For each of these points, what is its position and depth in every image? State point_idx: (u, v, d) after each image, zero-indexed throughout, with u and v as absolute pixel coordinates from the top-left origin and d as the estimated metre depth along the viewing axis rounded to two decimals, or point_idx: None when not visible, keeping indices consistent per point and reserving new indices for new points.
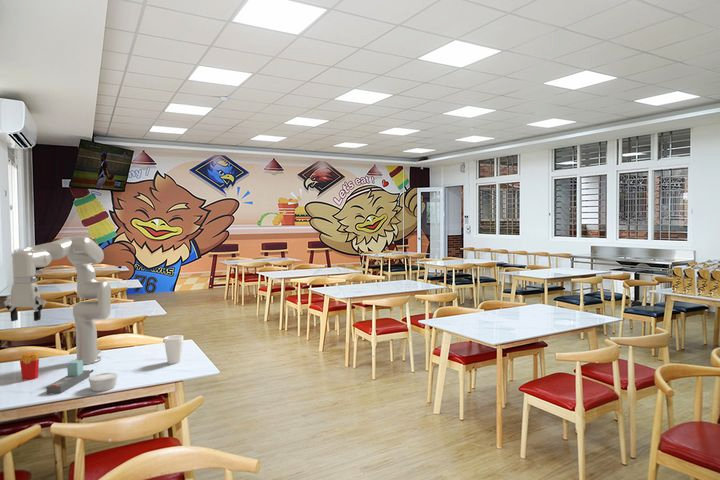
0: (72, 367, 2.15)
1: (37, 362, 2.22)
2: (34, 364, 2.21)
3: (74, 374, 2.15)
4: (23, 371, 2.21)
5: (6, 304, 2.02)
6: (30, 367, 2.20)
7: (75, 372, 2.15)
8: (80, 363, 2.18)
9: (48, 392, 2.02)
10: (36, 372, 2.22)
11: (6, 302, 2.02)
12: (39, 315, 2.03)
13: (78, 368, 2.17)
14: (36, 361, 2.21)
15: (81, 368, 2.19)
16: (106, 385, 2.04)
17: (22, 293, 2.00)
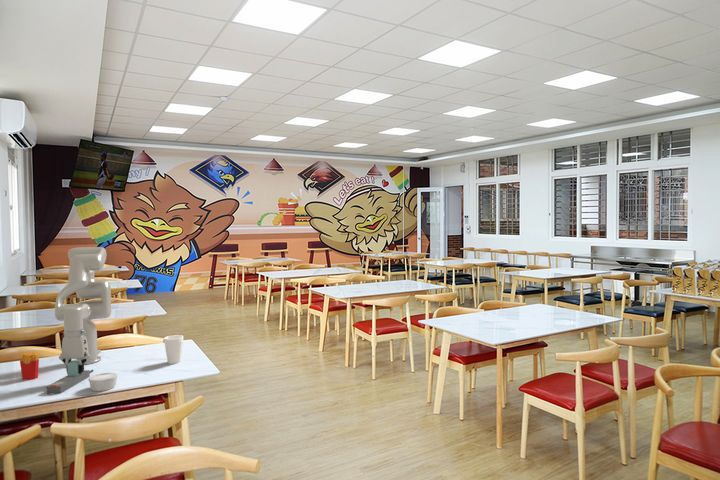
0: (72, 367, 2.15)
1: (37, 362, 2.22)
2: (34, 364, 2.21)
3: (74, 374, 2.15)
4: (23, 371, 2.21)
5: (61, 358, 2.17)
6: (30, 367, 2.20)
7: (75, 372, 2.15)
8: None
9: (48, 392, 2.02)
10: (36, 372, 2.22)
11: (60, 357, 2.17)
12: (83, 368, 2.18)
13: None
14: (36, 361, 2.21)
15: None
16: (106, 385, 2.04)
17: (72, 346, 2.15)
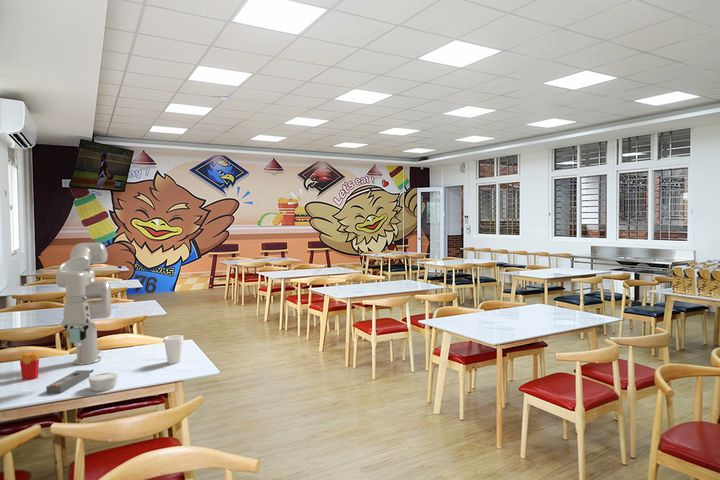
0: (74, 334, 2.13)
1: (37, 362, 2.22)
2: (34, 364, 2.21)
3: (76, 340, 2.13)
4: (23, 371, 2.21)
5: (63, 325, 2.15)
6: (30, 367, 2.20)
7: (77, 339, 2.13)
8: None
9: (48, 392, 2.02)
10: (36, 372, 2.22)
11: (62, 323, 2.15)
12: (85, 335, 2.15)
13: None
14: (36, 361, 2.21)
15: None
16: (106, 385, 2.04)
17: (74, 311, 2.13)
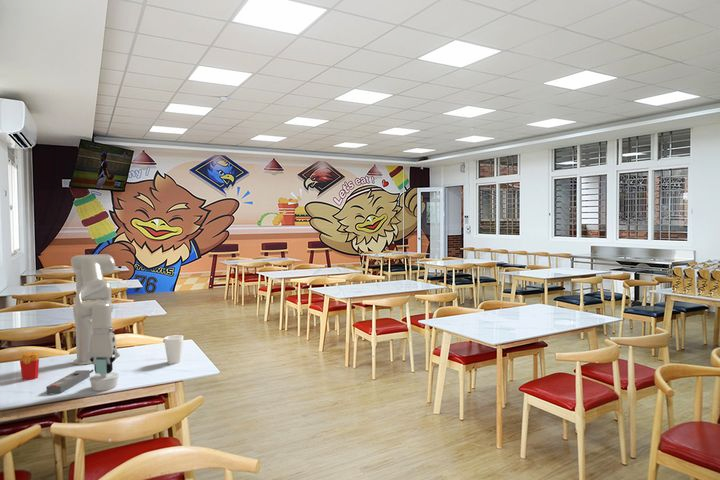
0: (101, 365, 2.05)
1: (37, 362, 2.22)
2: (34, 364, 2.21)
3: (103, 371, 2.05)
4: (23, 371, 2.21)
5: (89, 357, 2.07)
6: (30, 367, 2.20)
7: (104, 370, 2.05)
8: None
9: (48, 392, 2.02)
10: (36, 372, 2.22)
11: (88, 356, 2.07)
12: (111, 367, 2.08)
13: None
14: (36, 361, 2.21)
15: None
16: (107, 385, 2.04)
17: (101, 344, 2.05)
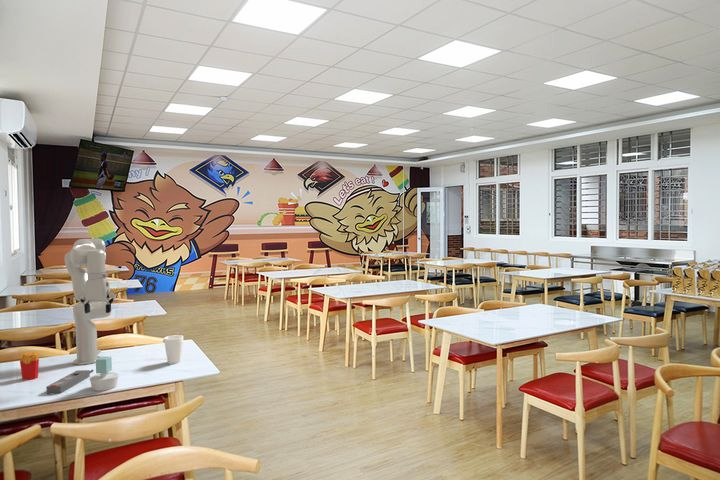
0: (101, 364, 2.06)
1: (37, 362, 2.22)
2: (34, 364, 2.21)
3: (103, 371, 2.06)
4: (23, 371, 2.21)
5: (80, 298, 2.22)
6: (30, 367, 2.20)
7: (104, 370, 2.06)
8: (109, 360, 2.08)
9: (48, 392, 2.02)
10: (36, 372, 2.22)
11: (80, 296, 2.22)
12: (110, 308, 2.23)
13: (107, 365, 2.07)
14: (36, 361, 2.21)
15: (110, 365, 2.09)
16: (107, 385, 2.05)
17: (95, 288, 2.20)
